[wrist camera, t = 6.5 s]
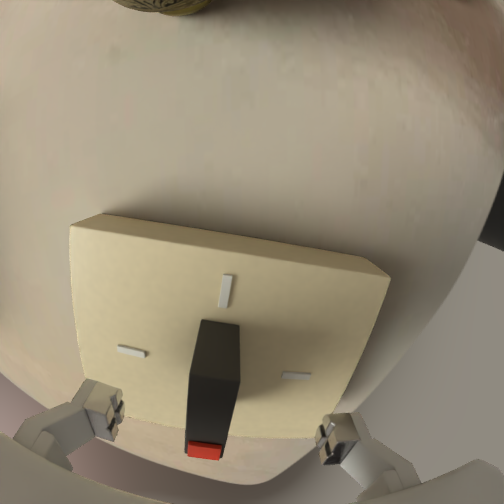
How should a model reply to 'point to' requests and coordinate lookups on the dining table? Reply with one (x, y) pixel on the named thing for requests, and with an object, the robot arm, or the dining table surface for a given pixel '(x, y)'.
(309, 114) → the dining table surface
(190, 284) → the panel
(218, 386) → the knob
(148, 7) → the dark textured vase
